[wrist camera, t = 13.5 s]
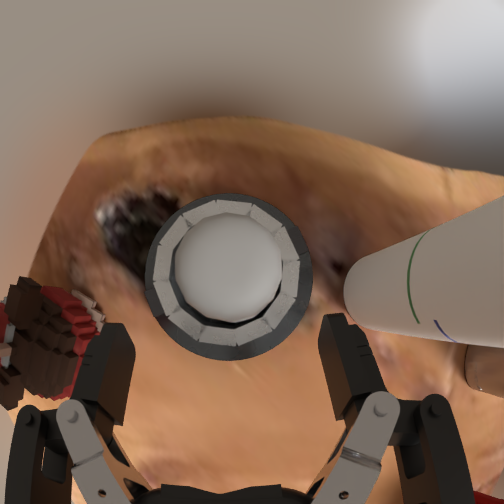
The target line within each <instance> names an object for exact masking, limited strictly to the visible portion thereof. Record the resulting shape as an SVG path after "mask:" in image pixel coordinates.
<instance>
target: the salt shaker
mask: <svg viewBox="0 0 504 504" xmlns="http://www.w3.org/2000/svg"><path fill="white" fill-rule="evenodd" d="M175 279H176V281H177V283H178V285H179V287H180V289H181V292H182V294H183V296H184V298H185V300H186V302H187V303H188V304H190V305H191V306H192V307H194V308H195V309H196V310H198V311H199V312H200V313H202V314H203V315H204V316H206V317H208V318H213V319H218V320H222V321H227V322H233V323H237V322H241V321H244V320H248V319H252V318H254V317H255V316H256V315H257V314H258V313H260V312H261V311H262V310H263V309H264V308H265V307H266V306H267V304H269V303H270V302H271V301H272V300H273V299H274V296H275V294H276V291H277V289H278V286H279V284H280V281H281V279H282V260H281V251H280V249H279V247H278V245H277V244H276V242H275V240H274V238H273V237H272V235H271V233H270V231H269V230H268V229H267V228H265V227H264V226H263V225H261V224H260V223H258V222H257V221H256V220H254V219H253V218H251V217H250V216H246V215H240V214H234V213H228V212H225V213H221V214H217V215H213V216H209V217H205V218H203V219H201V220H200V221H199V222H198V223H197V224H196V225H194V226H193V227H192V228H191V229H190V230H189V231H187V232H186V233H185V235H184V237H183V239H182V241H181V243H180V245H179V247H178V249H177V251H176V254H175Z"/></svg>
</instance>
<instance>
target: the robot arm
mask: <svg viewBox="0 0 504 504" xmlns="http://www.w3.org/2000/svg"><path fill="white" fill-rule="evenodd" d="M318 349H319V354H320V358H321V362H322V365H323V369H324V373H325V377H326V381H327V385H328V389H329V393H330V397H331V402H332V406H333V410H334V414H335V419H336V421H338V420H343V419H344V421H345V425H346V427H345V429H344V431H343V433H342V435H341V437H340V439H339V441H338V442H337V444H336V446H335V448H334V450H333V451H332V453H331V455H330V457H329V458H328V460H327V462H326V463H325V465H324V467H323V468H322V469H321V471H320V472H319V473H318V475H317V476H316V478H315V479H314V481H313V482H312V484H311V486H310V487H309V489H308V490H307V492H306V493H302V492H300V491H297V490H294V489H289V488H283V487H281V484H278V485H267V486H253V487H248V488H244V489H240V490H236V491H232V492H228V493H224V494H216V493H212V492H208V491H204V490H200V489H197V488H193V487H190V486H178V485H167V484H161V488H157V489H152V488H151V486H150V485H149V484H148V482H147V481H146V479H145V478H144V477H143V476H142V475H141V474H140V473H139V472H138V471H137V470H136V469H135V467H134V466H133V465H132V463H131V461H130V460H129V458H128V456H127V455H126V453H125V452H124V450H123V448H122V446H121V445H120V443H119V441H118V439H117V438H116V436H115V434H114V432H113V426H114V425H120V426H123V421H124V415H125V409H126V403H127V397H128V392H129V387H130V382H131V377H132V372H133V367H134V362H135V357H136V352H135V347H134V344H133V342H132V340H131V338H130V336H129V334H128V332H127V330H126V328H125V326H124V325H123V324H122V323H104V324H103V326H102V329H101V332H100V335H94V337H93V338H92V339H91V340H90V342H89V343H88V344H87V347H86V350H85V353H84V357H83V359H82V362H81V365H80V368H79V371H78V375H77V378H76V381H75V385H74V388H73V391H72V395H71V397H70V399H69V400H66V401H64V402H63V403H62V404H61V405H60V406H59V408H58V409H53V410H45V411H40V410H39V409H38V408H36V407H35V406H33V405H26V406H24V407H22V408H21V409H20V411H19V413H18V415H17V419H16V424H15V428H14V433H13V438H12V443H11V449H10V455H9V462H8V469H7V478H6V489H5V504H71V490H72V475H73V477H74V479H75V481H76V483H77V485H78V487H79V489H80V491H81V493H82V495H83V497H84V499H85V501H86V502H87V504H364V503H365V502H366V500H367V498H368V496H369V494H370V492H371V490H372V488H373V486H374V484H375V482H376V480H377V478H378V476H379V474H380V471H381V459H382V457H383V454H384V452H385V450H386V447H387V446H394V451H395V456H396V461H397V466H398V471H399V477H400V482H401V488H402V494H403V500H404V504H475V498H474V492H473V487H472V482H471V477H470V473H469V469H468V464H467V460H466V456H465V453H464V449H463V445H462V442H461V438H460V435H459V431H458V428H457V425H456V422H455V419H454V416H453V413H452V410H451V407H450V404H449V402H448V401H447V399H446V398H445V397H443V396H442V395H439V394H431V395H428V396H427V397H425V398H424V399H423V400H422V401H416V400H401V399H398V398H396V397H395V396H394V395H392V394H390V393H389V392H388V391H387V389H386V387H385V385H384V382H383V379H382V377H381V374H380V371H379V368H378V366H377V363H376V361H375V358H374V355H373V353H372V350H371V348H370V347H369V343H368V340H367V338H366V335H365V333H364V332H363V331H362V330H361V329H360V328H359V327H358V326H357V325H356V324H354V325H348V322H347V319H346V317H345V315H344V313H335V314H326V315H324V316H323V320H322V324H321V329H320V333H319V337H318ZM465 374H466V379H467V382H468V384H469V386H470V387H471V388H473V389H475V390H478V391H481V392H485V393H488V394H492V395H495V396H498V397H502V398H504V348H500V347H490V346H481V345H472V344H469V346H468V350H467V354H466V360H465ZM44 447H45V451H44ZM43 453H44V458H43ZM42 460H43V466H42ZM73 463H74V466H73Z"/></svg>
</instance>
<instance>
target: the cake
mask: <svg viewBox="0 0 504 504" xmlns="http://www.w3.org/2000/svg"><path fill="white" fill-rule="evenodd" d="M96 303H97V302H96V301H94V300H93V299H91V298H89V297H88V296H86V295H84V294H82V293H81V292H79V291H78V290H75V289H72V292H71V294H70V293H69V292H67V291H65V290H64V289H62V288H58V287H50V286H43V287H42V286H41V285H39V284H38V283H37V282H35V281H34V280H32V279H31V278H27V277H21V276H20V277H19V279H18V283H17V285H10V288H9V292H8V296H7V297H4V301H1V302H0V404H1V405H2V406H3V407H4V408H5V409H6V410H7V411H8V410H11V409H14V408H16V407H18V401H19V400H22V399H23V394H24V388H25V389H27V390H28V391H29V392H30V393H31V394H32V395H39V396H40V397H41V398H43V397H45V398H46V399H47V398H49V397H50V398H51V399H52V400H53V401H55V400H57V399H59V398H60V399H63V398H65V397H71V395H72V391H73V388H74V385H75V381H76V378H77V375H78V371H79V368H80V365H81V362H82V359H83V357H84V353H85V350H86V347H87V344H88V343H89V342H90V340H91V339H92V338H93V337H94V335H100V332H101V329H102V326H103V324H104V323H105V322H104V318H105V314H103V313H101V312H100V311H98V310H96V309H95V305H96Z"/></svg>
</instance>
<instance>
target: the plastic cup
mask: <svg viewBox="0 0 504 504" xmlns="http://www.w3.org/2000/svg"><path fill="white" fill-rule="evenodd" d="M473 492H474V498H475V504H504V500H503V499H498V498H495V497H492V496H489V495H486V494H483V493H480V492H477V491H473Z"/></svg>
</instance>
